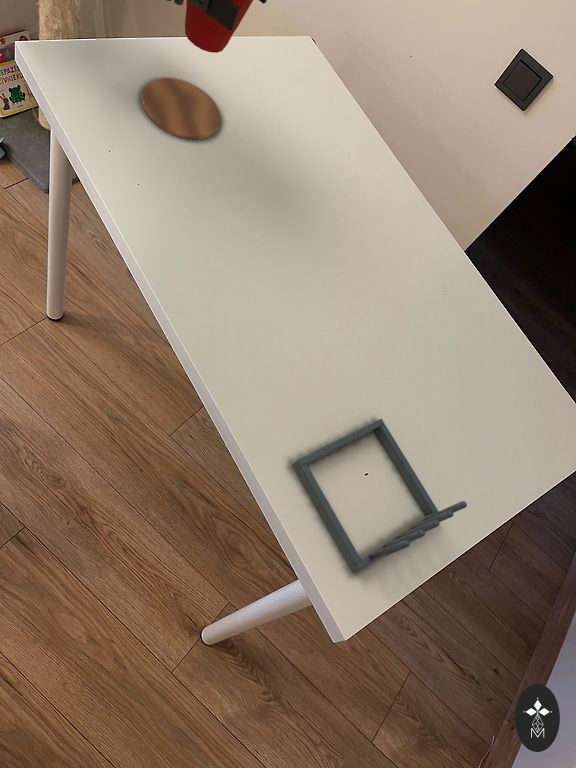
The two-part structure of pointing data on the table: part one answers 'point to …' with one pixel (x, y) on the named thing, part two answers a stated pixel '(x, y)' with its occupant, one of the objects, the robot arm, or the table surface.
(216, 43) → the plastic cup
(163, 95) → the wooden coaster
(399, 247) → the table surface
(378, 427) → the grey square frame
